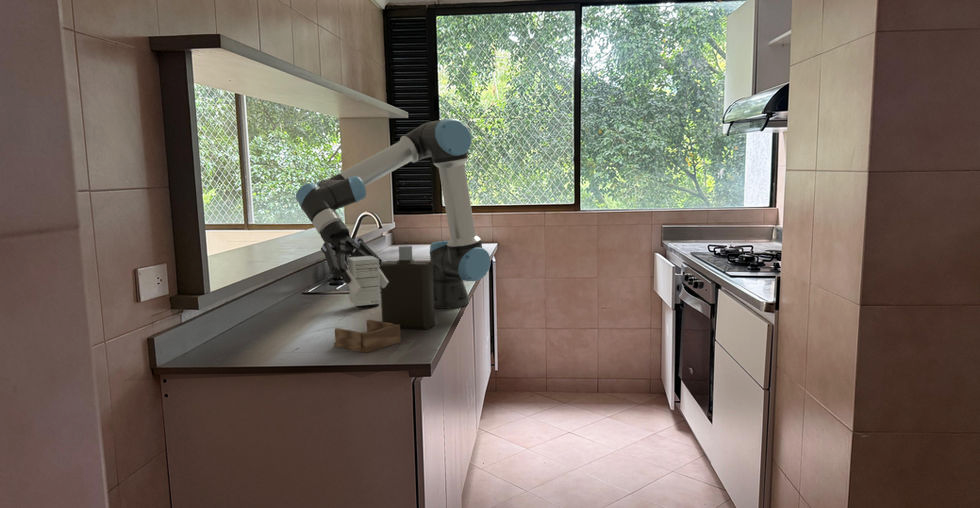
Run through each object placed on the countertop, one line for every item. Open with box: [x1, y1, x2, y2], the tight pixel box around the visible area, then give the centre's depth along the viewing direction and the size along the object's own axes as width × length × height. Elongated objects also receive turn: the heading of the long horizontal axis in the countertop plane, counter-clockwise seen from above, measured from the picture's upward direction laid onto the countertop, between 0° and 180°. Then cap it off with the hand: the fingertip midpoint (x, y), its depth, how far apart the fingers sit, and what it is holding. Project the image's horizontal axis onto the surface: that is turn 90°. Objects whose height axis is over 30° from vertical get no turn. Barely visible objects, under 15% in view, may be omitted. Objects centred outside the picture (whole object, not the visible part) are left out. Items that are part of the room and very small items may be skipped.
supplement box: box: [347, 256, 381, 307], centre depth 180 cm, size 7×7×13 cm
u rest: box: [333, 319, 402, 354], centre depth 182 cm, size 13×13×5 cm
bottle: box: [379, 245, 436, 330], centre depth 201 cm, size 8×16×25 cm, turn 74°
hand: (372, 288), depth 178 cm, fingers closed on supplement box, 10 cm apart
